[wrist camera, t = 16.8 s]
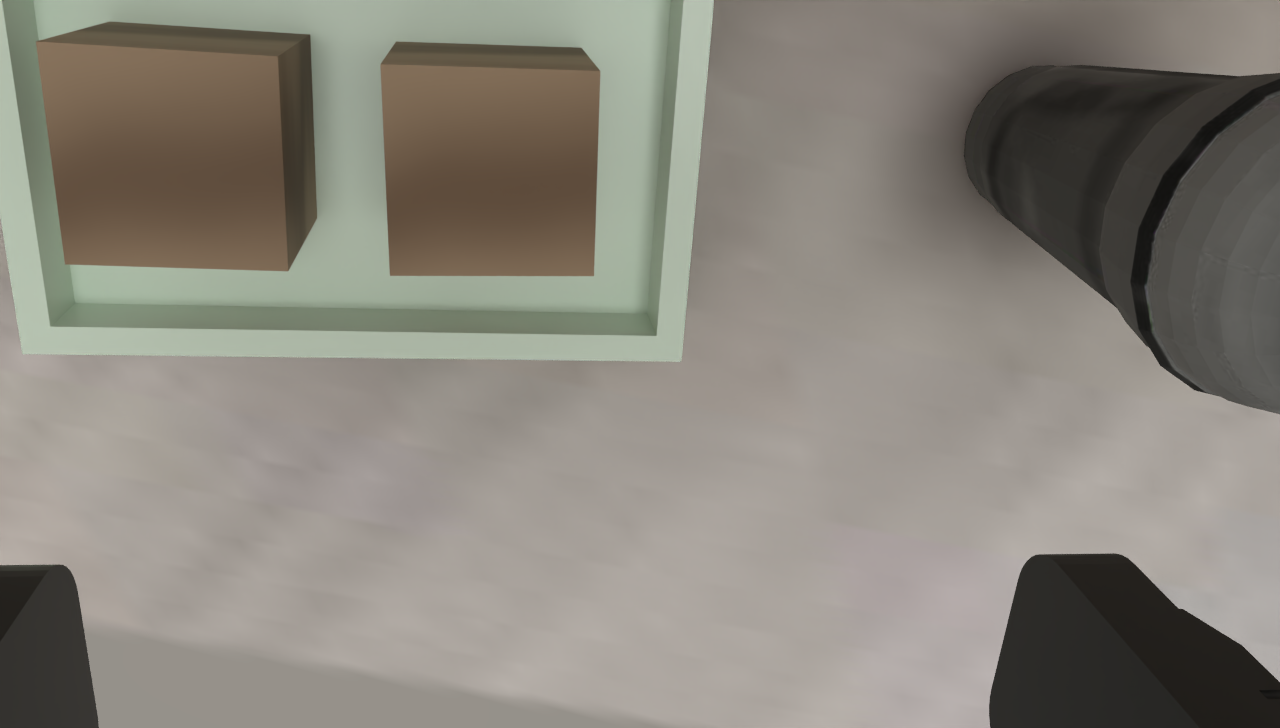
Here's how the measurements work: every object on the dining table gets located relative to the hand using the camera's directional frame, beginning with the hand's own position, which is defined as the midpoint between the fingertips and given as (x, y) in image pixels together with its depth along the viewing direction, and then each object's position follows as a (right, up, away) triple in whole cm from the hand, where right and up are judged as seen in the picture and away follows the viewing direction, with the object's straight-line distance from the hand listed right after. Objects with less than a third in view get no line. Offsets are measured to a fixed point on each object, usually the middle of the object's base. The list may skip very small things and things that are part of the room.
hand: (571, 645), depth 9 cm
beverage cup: (+13, +9, +24) cm, 29 cm away
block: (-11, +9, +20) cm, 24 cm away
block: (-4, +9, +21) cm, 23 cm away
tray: (-7, +9, +21) cm, 24 cm away
